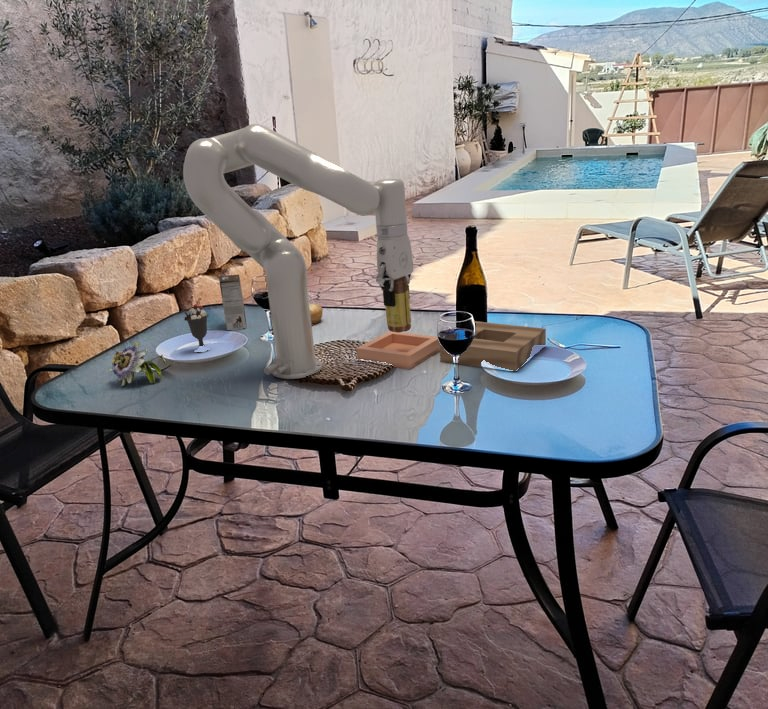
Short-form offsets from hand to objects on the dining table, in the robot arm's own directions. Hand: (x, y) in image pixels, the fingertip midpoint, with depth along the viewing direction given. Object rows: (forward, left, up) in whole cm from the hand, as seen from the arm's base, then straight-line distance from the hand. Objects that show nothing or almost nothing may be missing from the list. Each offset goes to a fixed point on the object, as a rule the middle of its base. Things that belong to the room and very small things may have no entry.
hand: (396, 302), depth 158 cm
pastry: (+16, +46, -15) cm, 51 cm away
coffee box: (+4, +65, -15) cm, 67 cm away
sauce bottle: (0, 0, -8) cm, 8 cm away
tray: (0, 0, -14) cm, 14 cm away
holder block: (+10, -22, -14) cm, 28 cm away
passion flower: (-42, +52, -15) cm, 69 cm away
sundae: (-18, +56, -15) cm, 61 cm away
